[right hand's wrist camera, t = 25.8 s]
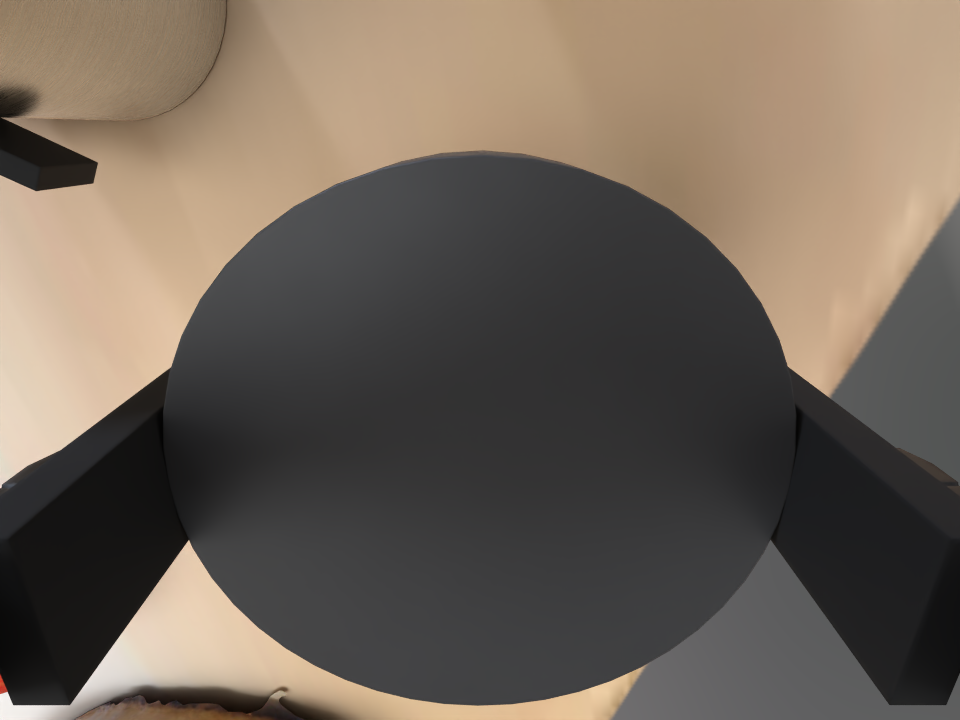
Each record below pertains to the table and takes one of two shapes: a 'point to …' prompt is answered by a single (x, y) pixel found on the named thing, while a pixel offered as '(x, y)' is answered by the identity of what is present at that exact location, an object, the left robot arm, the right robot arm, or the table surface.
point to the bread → (185, 711)
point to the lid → (479, 429)
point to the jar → (104, 56)
